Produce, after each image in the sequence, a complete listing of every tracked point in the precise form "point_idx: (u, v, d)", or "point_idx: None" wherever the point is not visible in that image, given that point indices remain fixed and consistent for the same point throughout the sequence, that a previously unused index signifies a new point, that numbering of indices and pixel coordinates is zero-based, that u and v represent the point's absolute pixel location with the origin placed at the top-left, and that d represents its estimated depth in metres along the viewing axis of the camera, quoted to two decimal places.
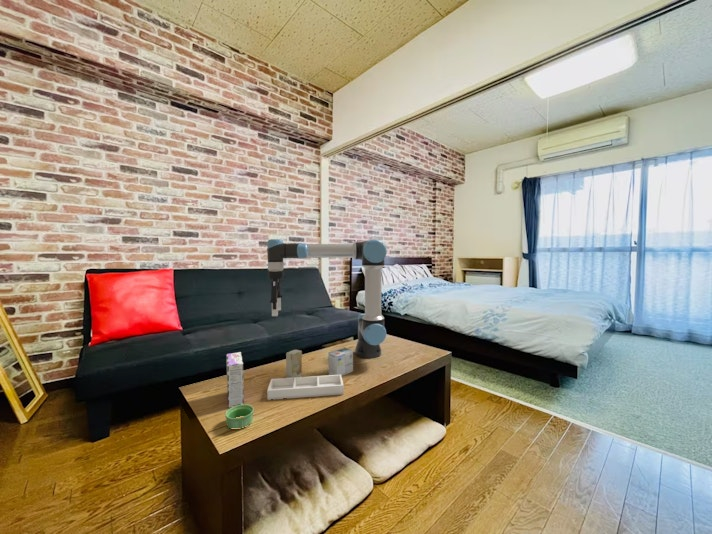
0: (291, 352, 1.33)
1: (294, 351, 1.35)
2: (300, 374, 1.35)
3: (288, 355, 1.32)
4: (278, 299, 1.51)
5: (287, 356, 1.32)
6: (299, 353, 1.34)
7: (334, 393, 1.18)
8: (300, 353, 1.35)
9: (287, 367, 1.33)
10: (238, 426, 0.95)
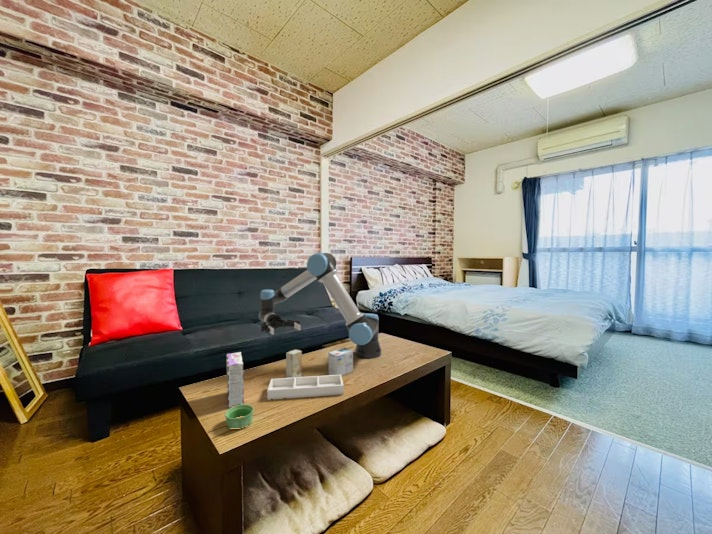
0: (291, 352, 1.33)
1: (294, 351, 1.35)
2: (300, 374, 1.35)
3: (288, 355, 1.32)
4: (294, 324, 1.50)
5: (287, 356, 1.32)
6: (299, 353, 1.34)
7: (334, 393, 1.18)
8: (300, 353, 1.35)
9: (287, 367, 1.33)
10: (238, 426, 0.95)
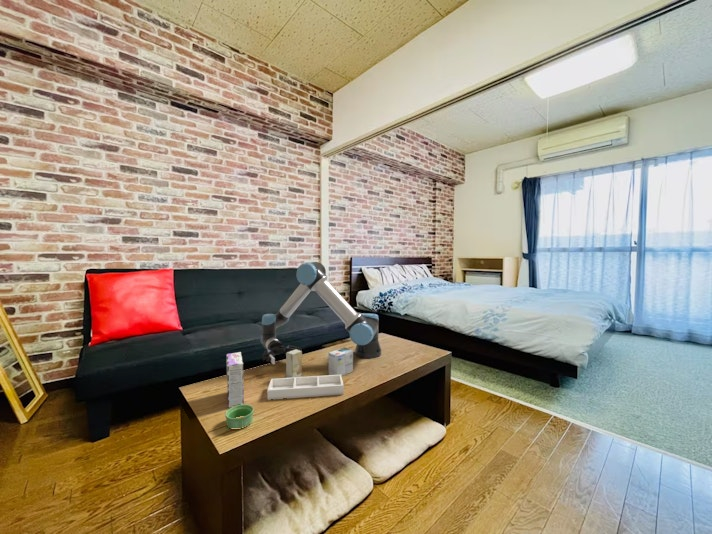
0: (291, 352, 1.33)
1: (294, 351, 1.35)
2: (300, 374, 1.35)
3: (288, 355, 1.32)
4: None
5: (287, 356, 1.32)
6: (299, 353, 1.34)
7: (334, 393, 1.18)
8: (300, 353, 1.35)
9: (287, 367, 1.33)
10: (238, 426, 0.95)
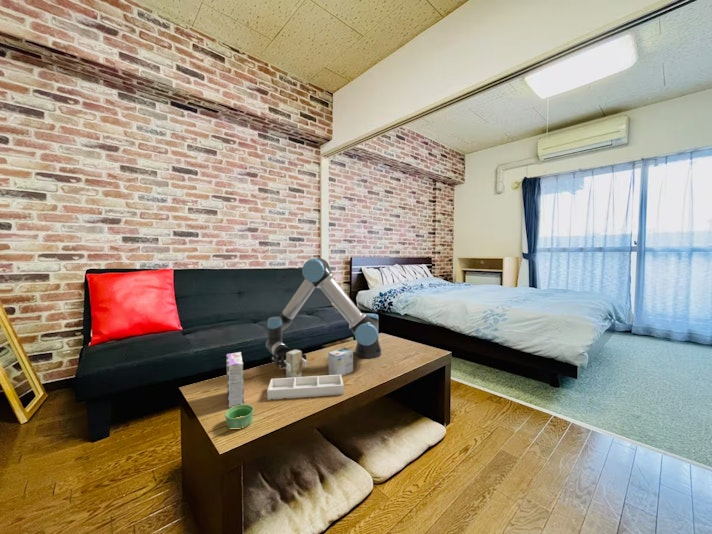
0: (291, 352, 1.33)
1: (294, 351, 1.35)
2: (300, 374, 1.35)
3: (288, 355, 1.32)
4: None
5: (287, 356, 1.32)
6: (299, 353, 1.34)
7: (334, 393, 1.18)
8: (300, 353, 1.35)
9: None
10: (238, 426, 0.95)
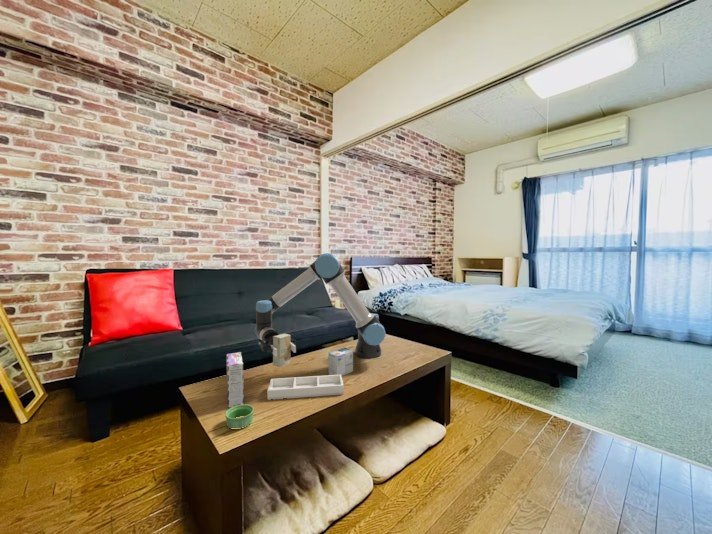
0: (278, 336, 1.21)
1: (282, 335, 1.22)
2: (288, 360, 1.22)
3: (275, 339, 1.19)
4: None
5: (274, 340, 1.20)
6: (287, 337, 1.22)
7: (334, 393, 1.18)
8: (289, 337, 1.22)
9: None
10: (238, 426, 0.95)
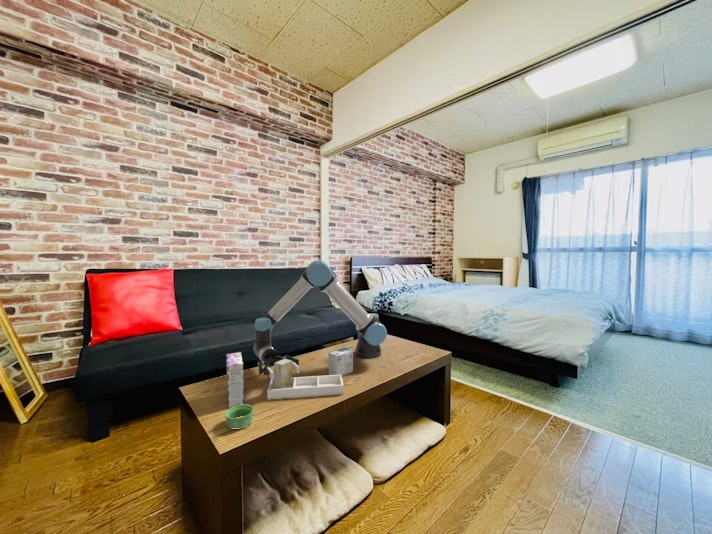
0: (280, 362, 1.19)
1: (283, 361, 1.20)
2: (290, 386, 1.21)
3: (276, 365, 1.18)
4: (292, 365, 1.24)
5: (275, 367, 1.18)
6: (289, 363, 1.20)
7: (334, 393, 1.18)
8: (290, 363, 1.21)
9: (275, 379, 1.18)
10: (238, 426, 0.95)
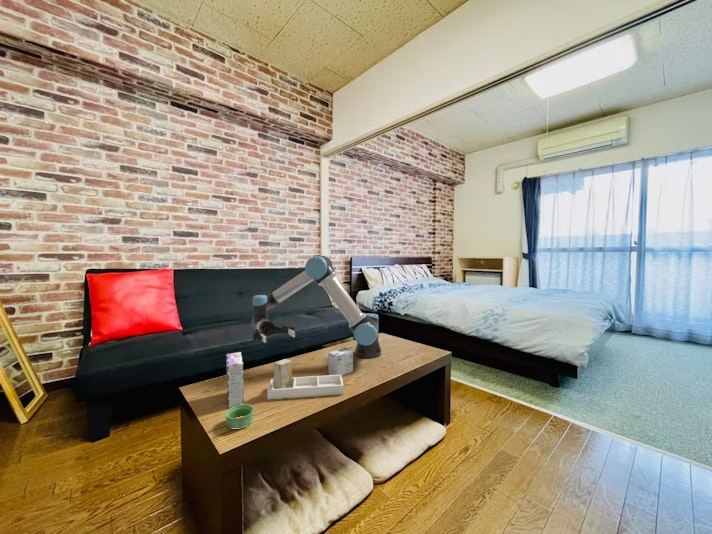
0: (280, 362, 1.19)
1: (283, 361, 1.20)
2: (290, 386, 1.21)
3: (276, 366, 1.18)
4: (288, 331, 1.42)
5: (275, 367, 1.18)
6: (289, 363, 1.20)
7: (334, 393, 1.18)
8: (290, 363, 1.21)
9: (275, 379, 1.18)
10: (238, 426, 0.95)
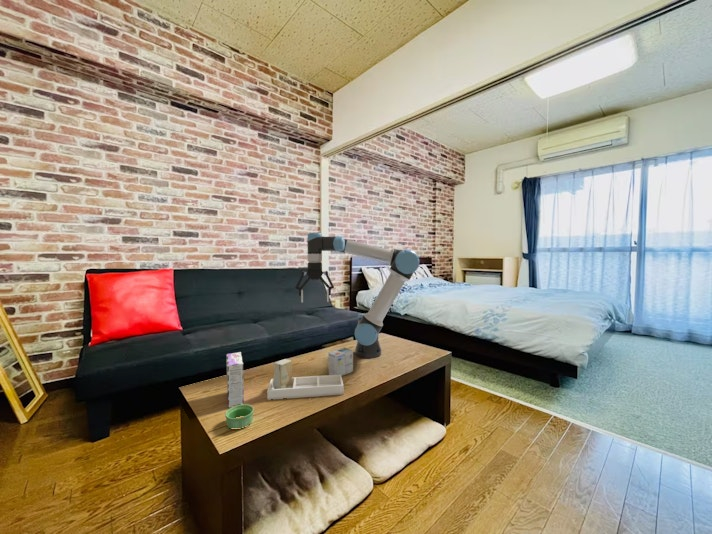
0: (280, 362, 1.19)
1: (283, 361, 1.20)
2: (290, 386, 1.21)
3: (276, 366, 1.18)
4: (327, 290, 1.55)
5: (275, 367, 1.18)
6: (289, 363, 1.20)
7: (334, 393, 1.18)
8: (290, 363, 1.21)
9: (275, 379, 1.18)
10: (238, 426, 0.95)
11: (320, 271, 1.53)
